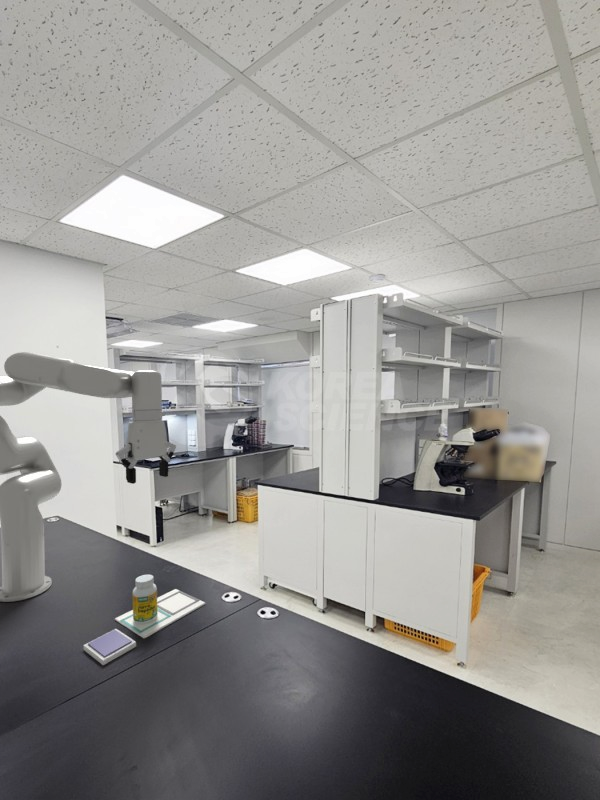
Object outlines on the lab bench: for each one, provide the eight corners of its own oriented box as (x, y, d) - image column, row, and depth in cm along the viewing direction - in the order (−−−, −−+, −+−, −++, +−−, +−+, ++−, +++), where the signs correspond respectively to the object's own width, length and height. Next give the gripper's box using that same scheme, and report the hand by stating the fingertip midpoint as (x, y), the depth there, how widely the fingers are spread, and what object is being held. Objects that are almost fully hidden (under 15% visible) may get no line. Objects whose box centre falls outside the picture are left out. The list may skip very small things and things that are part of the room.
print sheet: (115, 620, 92) (115, 618, 92) (175, 590, 106) (175, 588, 106) (144, 638, 85) (144, 636, 85) (205, 604, 99) (205, 602, 99)
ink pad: (83, 649, 81) (83, 643, 81) (116, 632, 87) (115, 627, 87) (103, 665, 77) (103, 658, 77) (136, 646, 82) (136, 640, 82)
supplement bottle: (154, 609, 96) (153, 570, 95) (159, 620, 91) (159, 579, 91) (131, 616, 93) (130, 576, 92) (135, 627, 88) (134, 585, 88)
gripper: (166, 414, 114) (167, 472, 115) (108, 417, 100) (109, 483, 101) (182, 415, 110) (183, 475, 110) (124, 418, 96) (125, 487, 96)
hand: (148, 479), depth 105 cm, fingers open, 9 cm apart
